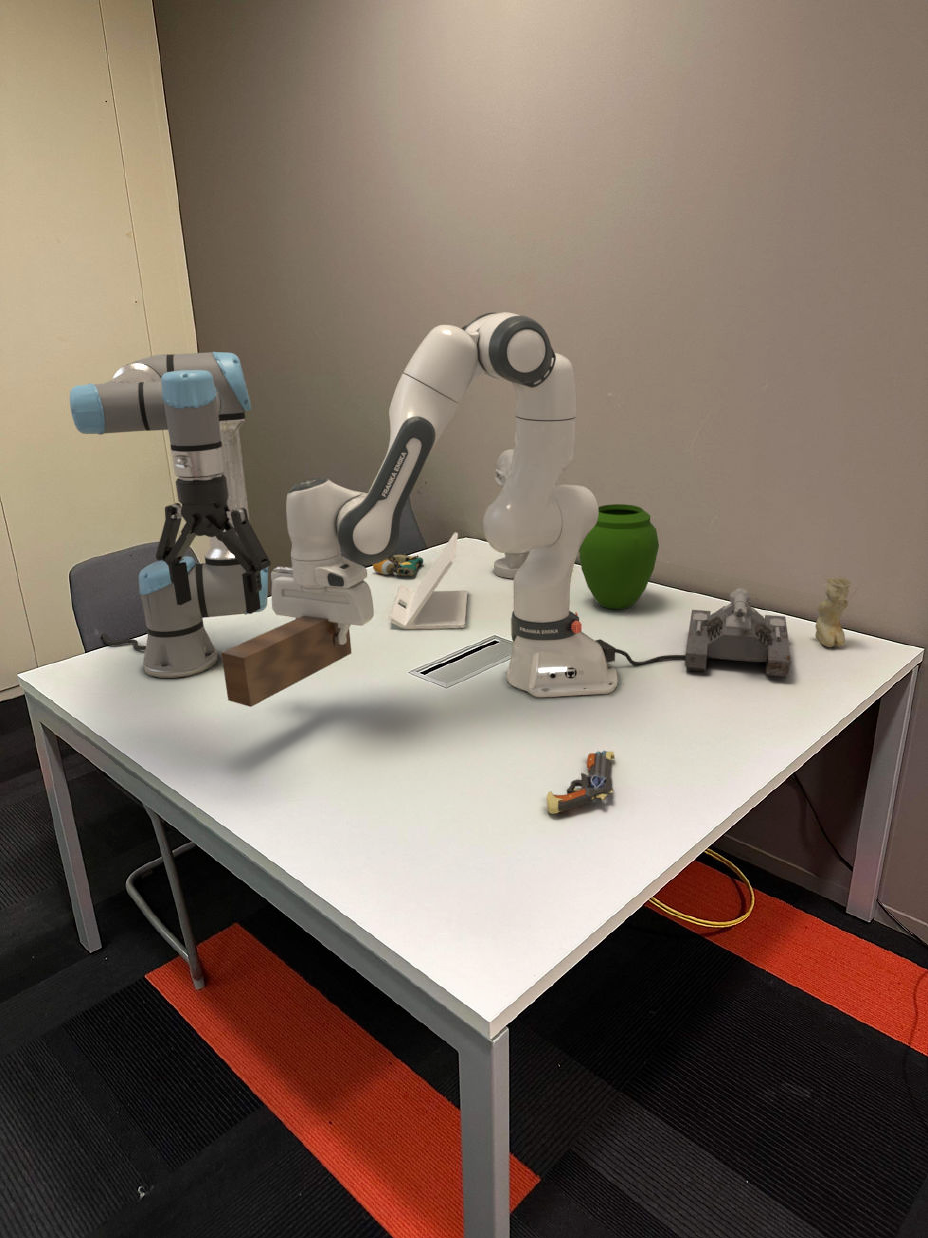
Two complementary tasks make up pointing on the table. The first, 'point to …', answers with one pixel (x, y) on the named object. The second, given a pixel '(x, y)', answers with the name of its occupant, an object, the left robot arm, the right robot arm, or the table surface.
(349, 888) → the table surface
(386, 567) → the spray gun
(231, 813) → the table surface
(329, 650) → the bar
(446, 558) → the tablet stand
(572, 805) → the toy gun
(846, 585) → the sculpture
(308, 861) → the table surface
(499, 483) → the bust sculpture
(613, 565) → the vase
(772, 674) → the toy
